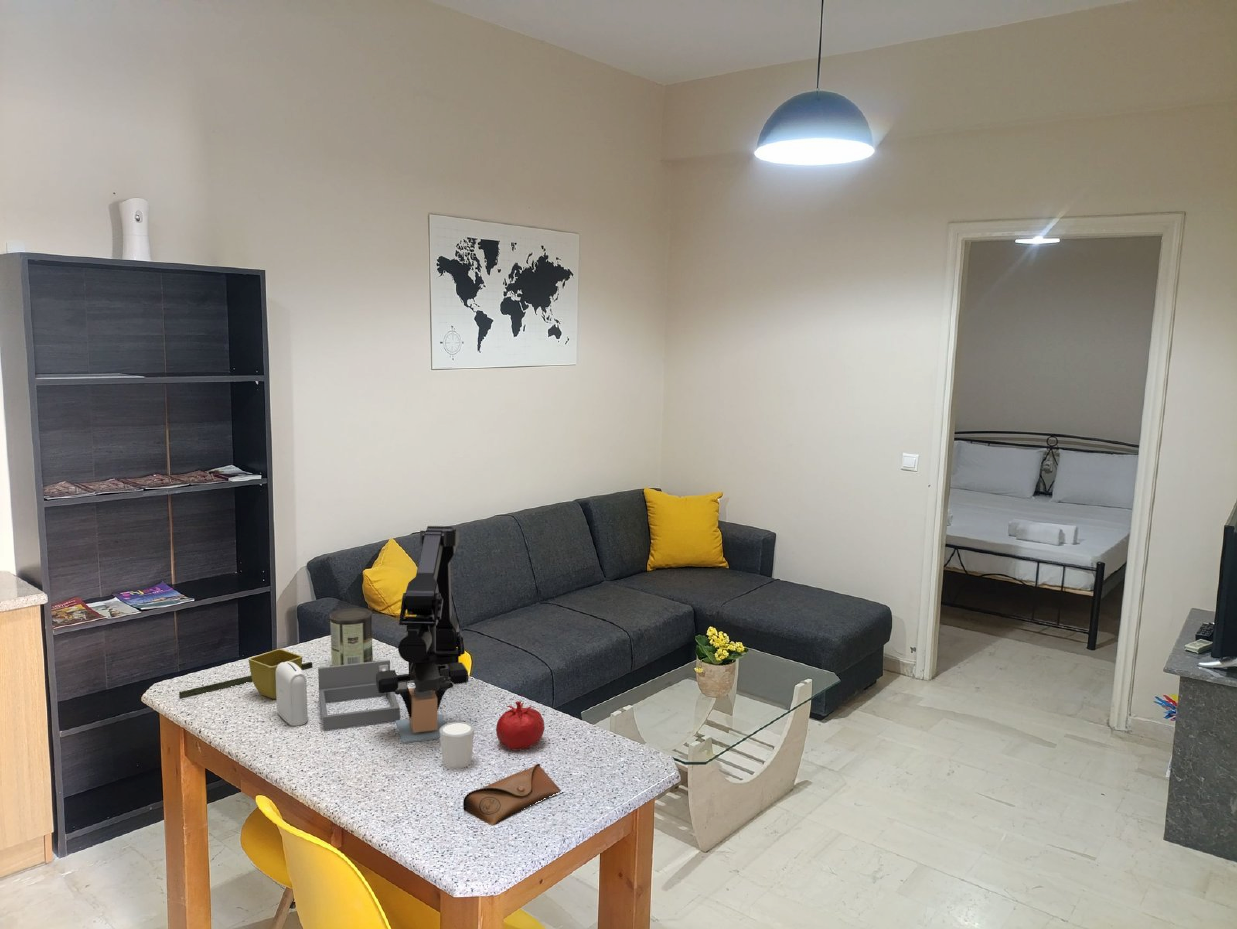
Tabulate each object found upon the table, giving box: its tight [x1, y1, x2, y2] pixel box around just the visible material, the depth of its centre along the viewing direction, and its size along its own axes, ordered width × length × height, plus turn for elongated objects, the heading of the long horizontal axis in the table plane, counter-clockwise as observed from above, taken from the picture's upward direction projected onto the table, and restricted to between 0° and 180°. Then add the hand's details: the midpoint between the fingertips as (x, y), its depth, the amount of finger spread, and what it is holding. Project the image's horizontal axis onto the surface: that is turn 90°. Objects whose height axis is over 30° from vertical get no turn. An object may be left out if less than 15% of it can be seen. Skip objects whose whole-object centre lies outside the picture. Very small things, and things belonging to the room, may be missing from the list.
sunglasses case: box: [462, 763, 562, 827], centre depth 162 cm, size 18×7×7 cm, turn 137°
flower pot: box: [248, 648, 303, 700], centre depth 206 cm, size 9×9×9 cm
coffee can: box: [329, 607, 374, 666], centre depth 223 cm, size 10×10×14 cm
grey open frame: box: [317, 659, 401, 732], centre depth 198 cm, size 16×17×8 cm
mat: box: [395, 713, 447, 744], centre depth 190 cm, size 10×11×1 cm
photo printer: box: [276, 661, 309, 727], centre depth 193 cm, size 10×4×12 cm, turn 39°
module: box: [408, 687, 438, 733], centre depth 189 cm, size 5×7×7 cm
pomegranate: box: [495, 701, 545, 751], centre depth 184 cm, size 10×10×9 cm
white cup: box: [439, 721, 475, 769], centre depth 175 cm, size 7×7×7 cm
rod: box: [178, 661, 313, 699], centre depth 213 cm, size 31×1×2 cm, turn 132°
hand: (422, 715), depth 189 cm, fingers closed on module, 5 cm apart
